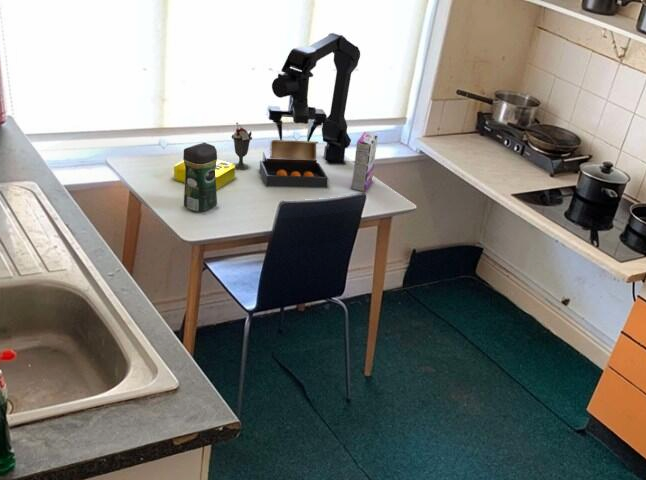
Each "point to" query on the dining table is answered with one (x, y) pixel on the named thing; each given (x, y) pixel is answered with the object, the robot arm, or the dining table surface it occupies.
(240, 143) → the sundae
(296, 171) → the orange ball
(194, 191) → the coffee jar
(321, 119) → the robot arm
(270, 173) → the dark grey tray
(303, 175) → the orange ball
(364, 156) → the candy bar box
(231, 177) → the yellow flat box
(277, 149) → the wooden box
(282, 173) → the orange ball
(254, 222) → the dining table surface
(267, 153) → the stand
